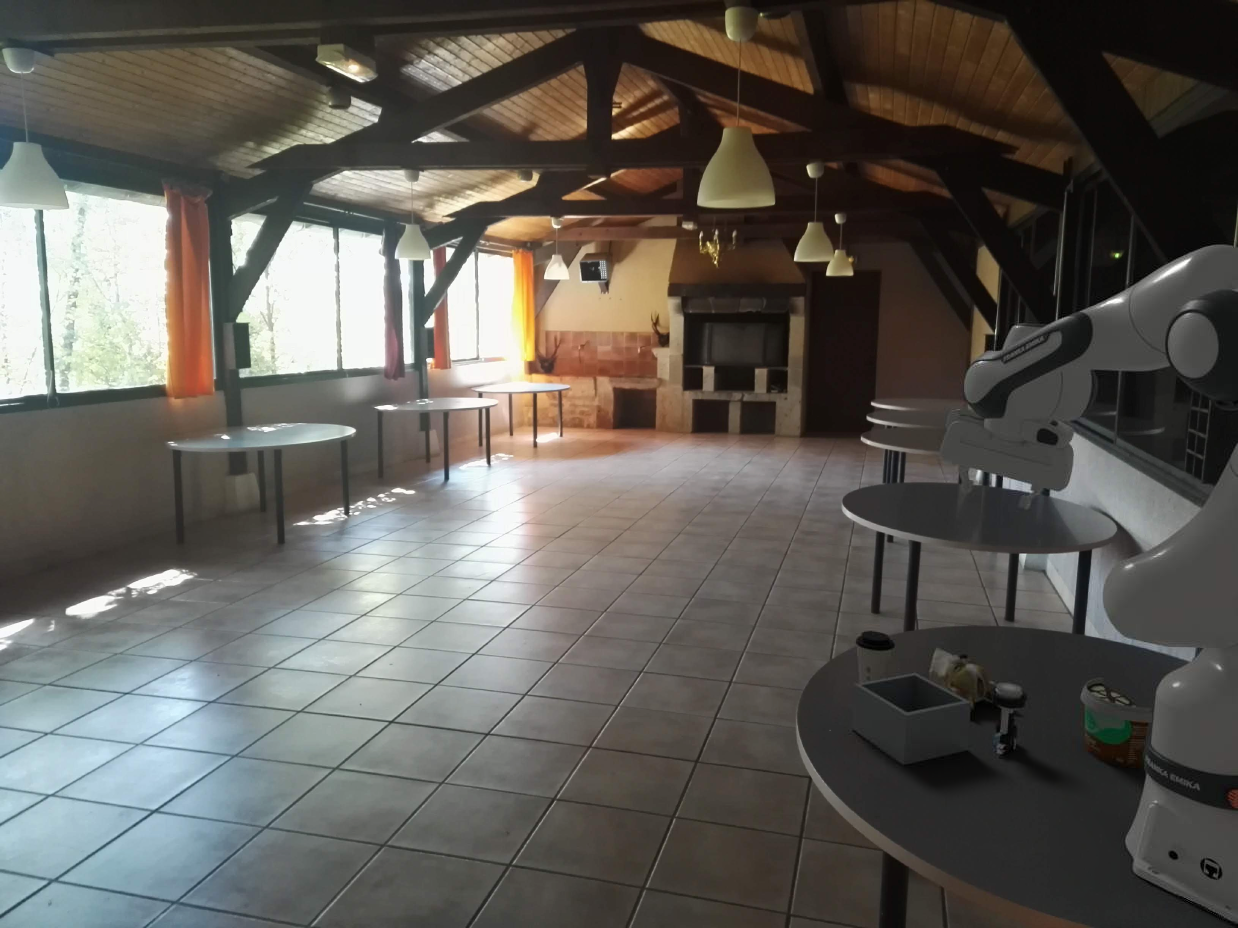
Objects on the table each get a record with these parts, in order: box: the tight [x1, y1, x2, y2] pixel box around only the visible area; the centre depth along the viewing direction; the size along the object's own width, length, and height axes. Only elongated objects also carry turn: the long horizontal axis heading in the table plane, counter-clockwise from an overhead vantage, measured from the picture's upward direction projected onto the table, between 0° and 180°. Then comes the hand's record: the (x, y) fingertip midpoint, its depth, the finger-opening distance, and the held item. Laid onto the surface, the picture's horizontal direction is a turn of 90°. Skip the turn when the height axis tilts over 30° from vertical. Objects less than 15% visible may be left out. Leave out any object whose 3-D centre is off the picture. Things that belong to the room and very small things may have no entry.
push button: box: [990, 682, 1028, 755], centre depth 137 cm, size 7×5×10 cm
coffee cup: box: [855, 630, 896, 683], centre depth 161 cm, size 7×7×10 cm
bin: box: [851, 672, 972, 766], centre depth 140 cm, size 13×13×8 cm
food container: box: [1080, 677, 1153, 769], centre depth 136 cm, size 12×6×10 cm, turn 5°
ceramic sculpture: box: [928, 647, 998, 711], centre depth 156 cm, size 11×9×15 cm
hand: (994, 498), depth 147 cm, fingers open, 8 cm apart
